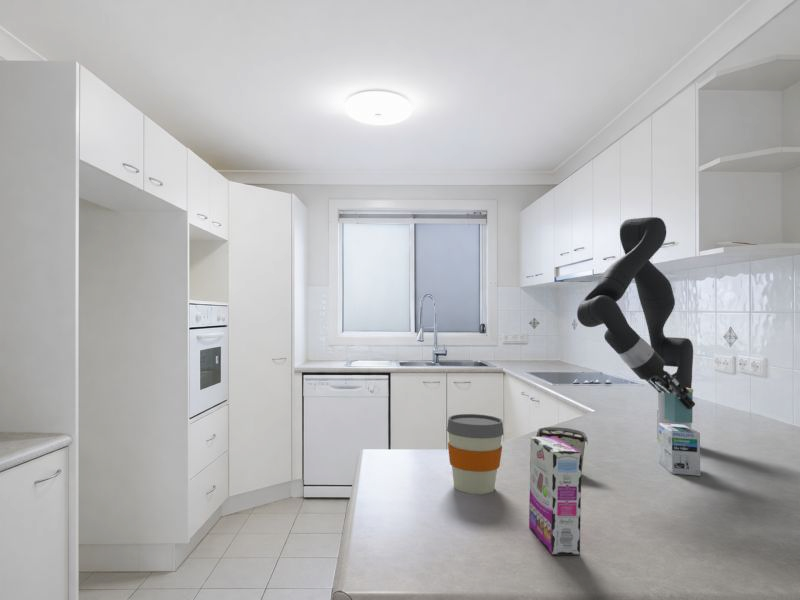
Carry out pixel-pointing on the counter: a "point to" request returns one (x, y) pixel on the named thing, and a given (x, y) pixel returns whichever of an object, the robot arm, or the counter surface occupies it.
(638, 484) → the counter surface
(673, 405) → the tea tin
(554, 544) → the candy bar box
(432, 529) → the counter surface
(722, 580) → the counter surface
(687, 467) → the light bulb box
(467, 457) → the reusable coffee cup
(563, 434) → the food container
